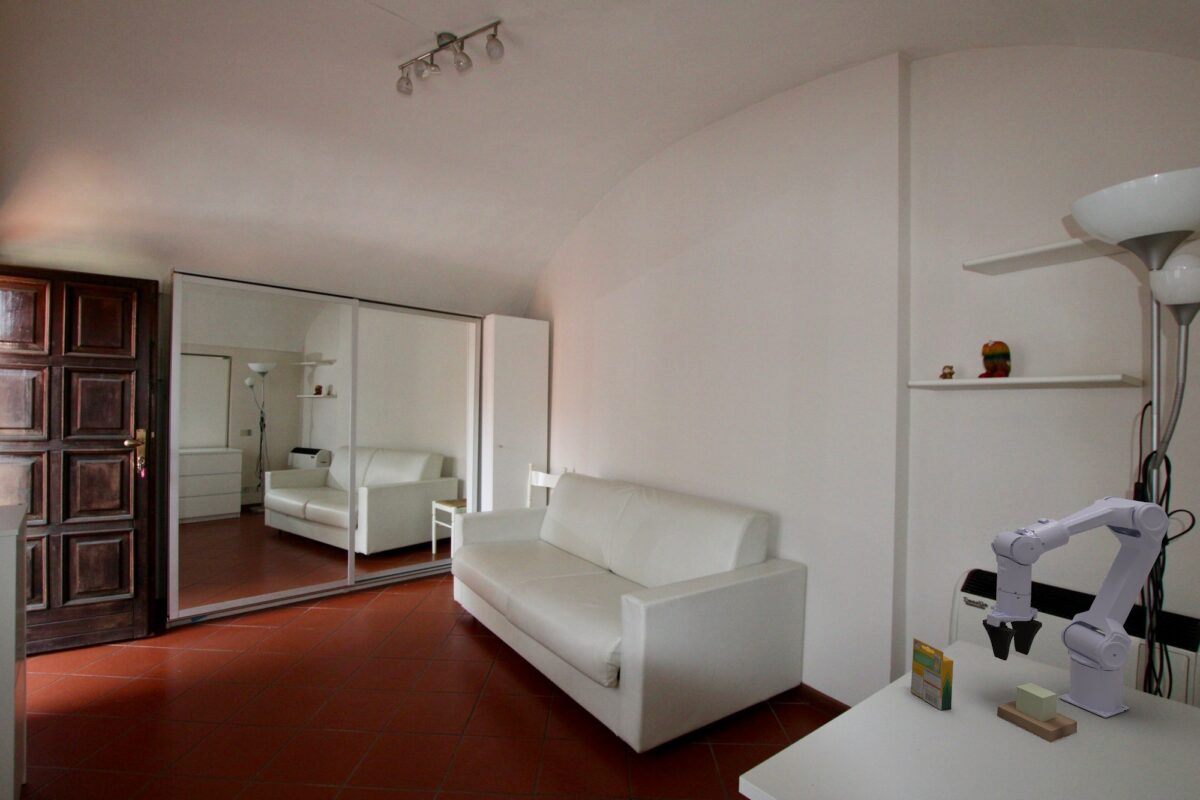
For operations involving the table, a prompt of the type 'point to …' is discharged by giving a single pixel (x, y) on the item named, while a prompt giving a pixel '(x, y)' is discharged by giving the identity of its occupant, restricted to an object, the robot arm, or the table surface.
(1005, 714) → the walnut base block
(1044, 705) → the sage cube
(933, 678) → the crayon box
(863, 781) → the table surface
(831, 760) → the table surface
